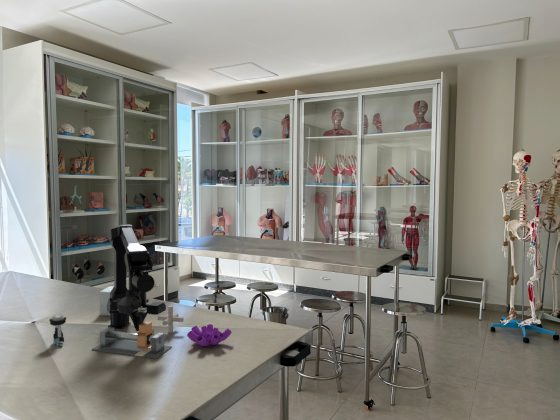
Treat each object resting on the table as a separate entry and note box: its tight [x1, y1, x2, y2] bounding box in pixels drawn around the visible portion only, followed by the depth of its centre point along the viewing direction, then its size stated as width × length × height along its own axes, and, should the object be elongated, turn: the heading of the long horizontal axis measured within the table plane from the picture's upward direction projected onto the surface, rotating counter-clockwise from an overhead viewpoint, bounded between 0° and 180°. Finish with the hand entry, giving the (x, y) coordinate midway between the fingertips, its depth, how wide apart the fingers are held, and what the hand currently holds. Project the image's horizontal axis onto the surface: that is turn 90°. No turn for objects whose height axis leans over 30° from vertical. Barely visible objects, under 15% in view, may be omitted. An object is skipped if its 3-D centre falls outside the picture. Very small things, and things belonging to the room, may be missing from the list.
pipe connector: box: [157, 305, 185, 333], centre depth 163 cm, size 10×10×10 cm
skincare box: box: [99, 285, 114, 316], centre depth 188 cm, size 10×6×10 cm, turn 179°
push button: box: [48, 314, 67, 347], centre depth 150 cm, size 7×5×10 cm
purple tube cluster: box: [186, 323, 232, 347], centre depth 151 cm, size 11×15×10 cm
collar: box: [136, 321, 155, 349], centre depth 145 cm, size 3×5×8 cm, turn 165°
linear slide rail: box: [99, 326, 165, 354], centre depth 146 cm, size 22×5×5 cm, turn 75°
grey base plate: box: [91, 338, 173, 360], centre depth 147 cm, size 25×10×1 cm, turn 75°
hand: (138, 330), depth 145 cm, fingers closed
